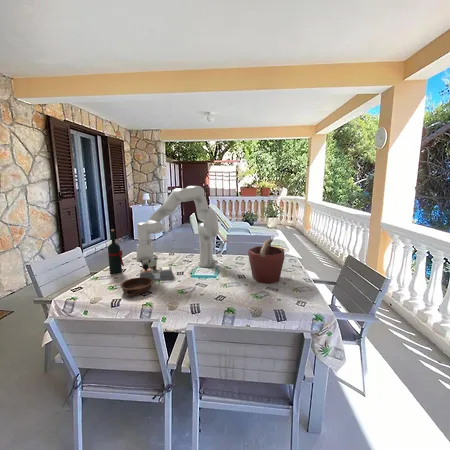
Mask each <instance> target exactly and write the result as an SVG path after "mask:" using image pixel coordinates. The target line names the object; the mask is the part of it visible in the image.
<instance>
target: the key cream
mask: <svg viewBox="0 0 450 450" xmlns="http://www.w3.org/2000/svg"><path fill="white" fill-rule="evenodd" d="M169 267H170V266H161V267H160V268H162V271H167V270H170V268H169Z"/></svg>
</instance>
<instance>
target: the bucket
mask: <svg viewBox="0 0 450 450" xmlns="http://www.w3.org/2000/svg"><path fill="white" fill-rule="evenodd" d="M273 241H274V239H272V238H268V239H266V240H264V242H263V244H262V246H261V245H260V246H253V247H251V248H249V249H248V250H247V255H248V260H249V265H250V271H251V275H252V279H253V280H255V282H256V283H259V284H260V283H261V284H267V285H271V284H274V283H275V284H276V283H278V282H280V280H281V279H280V278H281V274H282V270H283V267H284V261H285V249H284V248H282V247H281V248H280V247H276V246H272V245H271V243H272V242H273Z"/></svg>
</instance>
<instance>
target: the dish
mask: <svg viewBox="0 0 450 450" xmlns="http://www.w3.org/2000/svg"><path fill="white" fill-rule="evenodd" d="M153 281H154V280H153ZM153 281H152V279H150V278H144V277H141V278H139V277H133V278H130V279H126V280H124V281H123V282H121V284H120V285H119V286H120V288H121V289H122V291H123V293H124V295H125V296H126V298H132V297H135V296H139V295H143V294H145V293H147V292H149V291H150V289H151V287H152V284H153V283H154V282H153Z"/></svg>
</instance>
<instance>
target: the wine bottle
mask: <svg viewBox="0 0 450 450" xmlns="http://www.w3.org/2000/svg"><path fill="white" fill-rule="evenodd" d="M110 236H111V238H110V239H111V243H110V244H108V246H107V253H108V254H107V255H108V256H107V257H108V266H109V268H108V269H109V274H110V275H119V274H121V273H122V272H123V267H125V264H124V262H123V257H122V256H123V250H121V246H120V245H119V244H118V243H117V242H116V233H115V229H110Z"/></svg>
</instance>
